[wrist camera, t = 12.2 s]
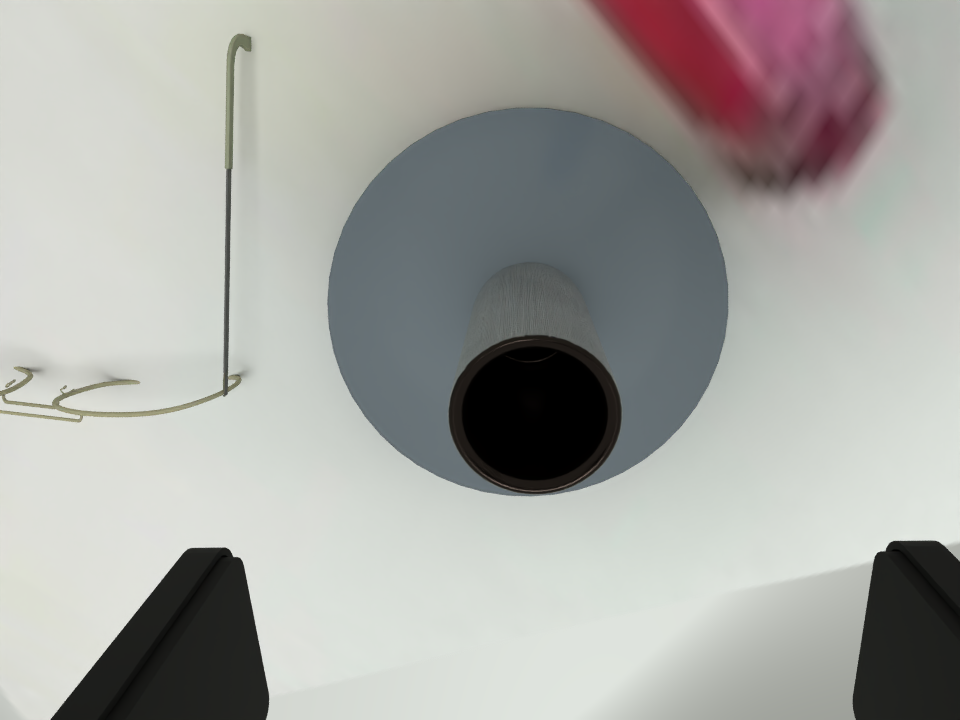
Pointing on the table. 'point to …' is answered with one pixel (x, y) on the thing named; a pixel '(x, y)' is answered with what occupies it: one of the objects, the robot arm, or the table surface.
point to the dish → (519, 239)
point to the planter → (533, 385)
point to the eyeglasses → (233, 46)
